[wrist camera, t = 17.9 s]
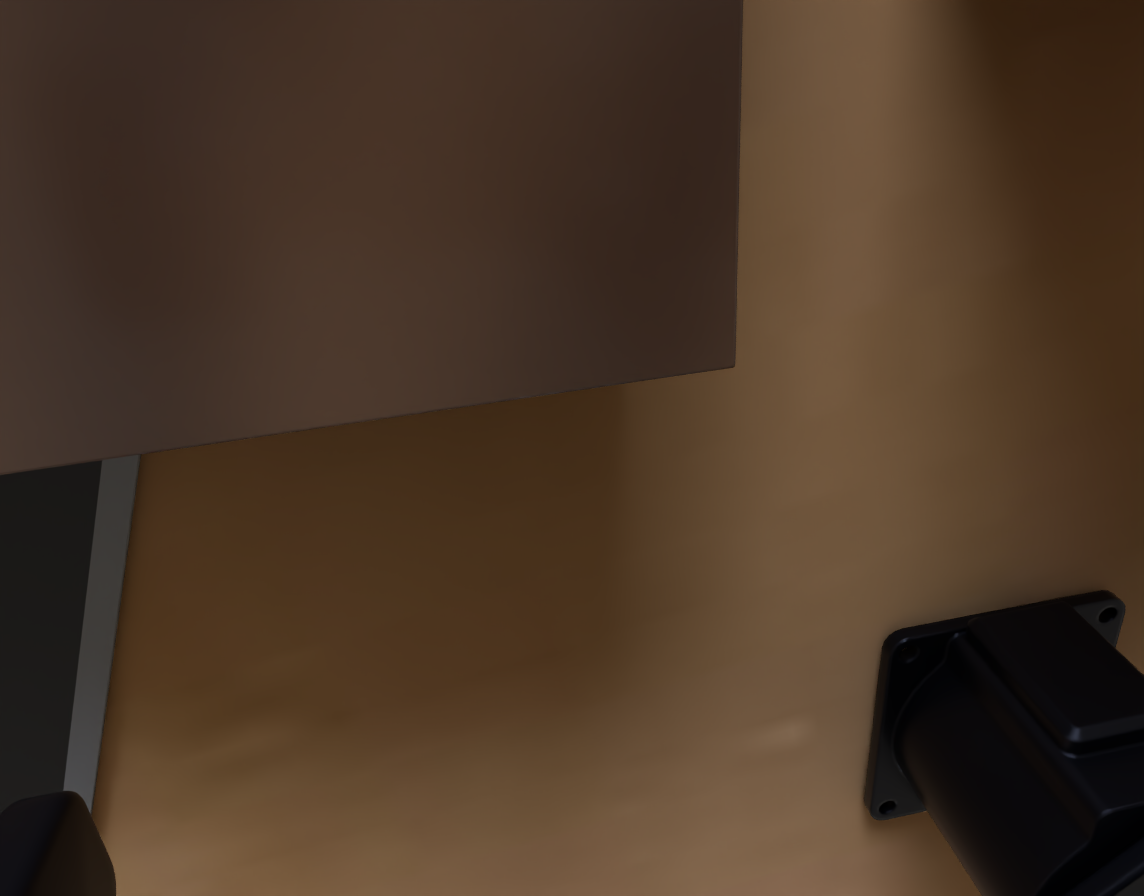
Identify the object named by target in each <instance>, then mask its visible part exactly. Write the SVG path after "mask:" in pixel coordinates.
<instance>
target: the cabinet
mask: <svg viewBox="0 0 1144 896" xmlns="http://www.w3.org/2000/svg"><path fill="white" fill-rule="evenodd" d="M742 26H743V0H0V475H4V474H11V473H18V472H24V471H31V470H38V469H45V468H52V467H58V466H65V465H72V464H79V463H86V462H93V461H99V460H106V459H113V458H120V457H127V456H134V455H140V454H147V453H154V452H161V451H168V450H174V449H181V448H188V447H195V446H202V445H209V444H215V443H222V442H229V441H236V440H243V439H250V438H256V437H263V436H270V435H277V434H284V433H290V432H297V431H304V430H311V429H318V428H325V427H331V426H338V425H345V424H352V423H359V422H366V421H372V420H379V419H386V418H393V417H400V416H406V415H413V414H420V413H427V412H434V411H441V410H447V409H454V408H461V407H468V406H475V405H481V404H488V403H495V402H502V401H509V400H516V399H522V398H529V397H536V396H543V395H550V394H557V393H563V392H570V391H577V390H584V389H591V388H597V387H604V386H611V385H618V384H625V383H632V382H638V381H645V380H652V379H659V378H666V377H673V376H679V375H686V374H693V373H700V372H707V371H713V370H720V369H727V368H733V367H734V366H735V358H736V310H737V263H738V216H739V168H740V121H741V73H742Z"/></svg>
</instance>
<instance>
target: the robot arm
mask: <svg viewBox="0 0 1144 896" xmlns="http://www.w3.org/2000/svg"><path fill="white" fill-rule="evenodd" d="M1124 615H1125V604H1124V603H1123V601H1121V600H1120V599H1119V598H1118V597H1117V596H1116V595H1115V594H1114V593H1112V592H1110V591H1108V590H1101V591H1095V592H1090V593H1085V594H1080V595H1075V596H1069V597H1064V598H1059V599H1054V600H1049V601H1043V602H1038V603H1033V604H1028V605H1023V606H1017V607H1012V608H1007V609H1002V610H996V611H991V612H986V613H981V614H976V615H970V616H965V617H960V618H955V619H950V620H944V621H939V622H934V623H929V624H923V625H918V626H913V627H908V628H903V629H900V630H897V631H895V632H893V633H892V634H890V635H889V636H888V637H887V639H886V640H885V641H884V643H883V646H882V652H881V661H880V669H879V677H878V686H877V694H876V703H875V711H874V719H873V728H872V736H871V744H870V753H869V761H868V769H867V778H866V786H865V794H864V804H865V806H866V808H867V809H868V811H869V813H870V815H871V816H872V817H873V818H874V819H876V820H887V819H892V818H896V817H901V816H905V815H910V814H914V813H919V812H923V811H927V812H928V813H929V815H930V816H931V818H932V819H933V821H934V822H935V824H936V825H937V827H938V829H939V830H940V832H941V833H942V835H943V836H944V838H945V839H946V841H947V842H948V844H949V846H950V847H951V849H952V850H953V852H954V853H955V855H956V856H957V858H958V859H959V861H960V862H961V864H962V866H963V867H964V869H965V870H966V872H967V873H968V875H969V876H970V878H971V879H972V881H973V883H974V884H975V886H976V887H977V889H978V890H979V892H980V893H981V895H982V896H1144V675H1143V674H1142V673H1141V672H1140V671H1139V670H1138V669H1137V668H1136V667H1135V666H1134V665H1133V664H1131V663H1130V662H1129V661H1128V660H1127V659H1126V658H1125V657H1124V656H1123V655H1122V654H1121V653H1120V652H1119V651H1118V650H1117V649H1116V644H1117V640H1118V637H1119V633H1120V629H1121V626H1122V622H1123V618H1124ZM904 648H906V649H905V650H903V649H904ZM902 650H903V651H902ZM0 896H116V879H115V873H114V868H113V865H112V862H111V859H110V857H109V855H108V853H107V850H106V848H105V846H104V843H103V841H102V839H101V837H100V834H99V832H98V830H97V828H96V825H95V823H94V821H93V819H92V816H91V814H90V812H89V809H88V807H87V805H86V803H85V801H84V800H83V798H82V797H81V796H80V795H79V794H78V793H76V792H74V791H61V792H55V793H50V794H45V795H40V796H35V797H30V798H25V799H21V800H18V801H16V802H14V803H13V804H11V805H10V806H8V807H7V808H6V809H5V810H4V811H3V812H2V813H1V814H0Z"/></svg>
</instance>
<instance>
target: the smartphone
mask: <svg viewBox="0 0 1144 896" xmlns="http://www.w3.org/2000/svg"><path fill="white" fill-rule="evenodd" d="M140 458H141V454H140V455H134V456H127V457H120V458H113V459H106V460H99V461H93V462H86V463H79V464H72V465H65V466H58V467H52V468H45V469H38V470H31V471H24V472H18V473H11V474H4V475H0V814H1V813H2V812H3V811H4V810H5V809H6V808H7V807H8V806H10V805H11V804H13V803H14V802H16V801H18V800H21V799H25V798H30V797H35V796H40V795H45V794H50V793H55V792H61V791H74V792H76V793H78V794H79V795H80V796H81V797H82V798H83V800H84V801H85V803H86V805H87V807H88V809H89V812H90V814H91V816H92V810H93V802H94V795H95V788H96V780H97V773H98V766H99V758H100V751H101V744H102V736H103V729H104V722H105V714H106V707H107V700H108V692H109V685H110V678H111V670H112V663H113V656H114V648H115V641H116V634H117V626H118V619H119V612H120V604H121V597H122V590H123V582H124V575H125V568H126V560H127V553H128V546H129V538H130V531H131V524H132V516H133V509H134V502H135V494H136V487H137V480H138V472H139V465H140Z"/></svg>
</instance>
